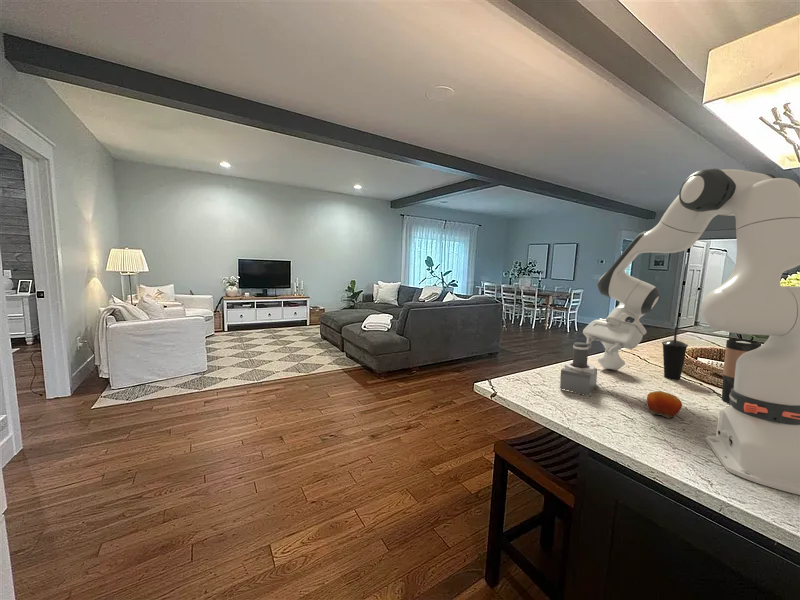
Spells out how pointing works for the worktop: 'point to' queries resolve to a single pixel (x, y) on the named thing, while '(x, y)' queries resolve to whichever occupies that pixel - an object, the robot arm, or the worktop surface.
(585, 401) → the worktop surface
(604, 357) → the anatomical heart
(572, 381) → the grey block with hole
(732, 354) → the travel mug
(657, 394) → the fruit
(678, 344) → the drinking cup
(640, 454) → the worktop surface
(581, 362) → the lens
